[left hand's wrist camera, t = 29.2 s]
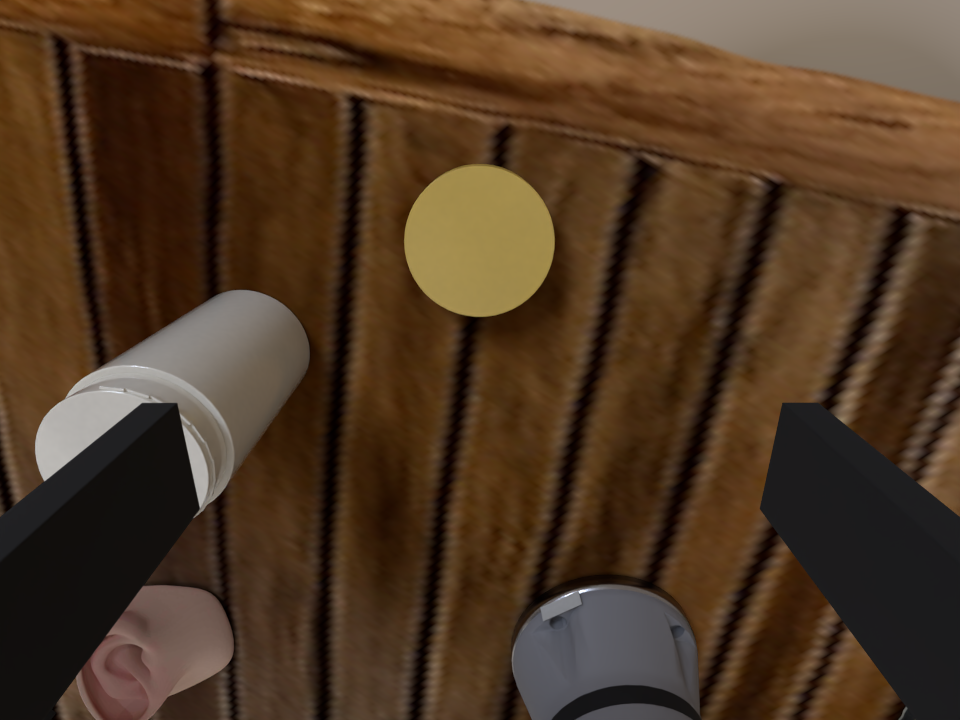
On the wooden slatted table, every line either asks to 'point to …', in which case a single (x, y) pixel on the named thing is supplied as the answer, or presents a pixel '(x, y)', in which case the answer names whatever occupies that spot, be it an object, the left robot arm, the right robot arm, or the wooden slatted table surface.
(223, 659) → the anatomical model
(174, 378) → the jar
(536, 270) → the lid
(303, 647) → the wooden slatted table surface
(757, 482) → the wooden slatted table surface
